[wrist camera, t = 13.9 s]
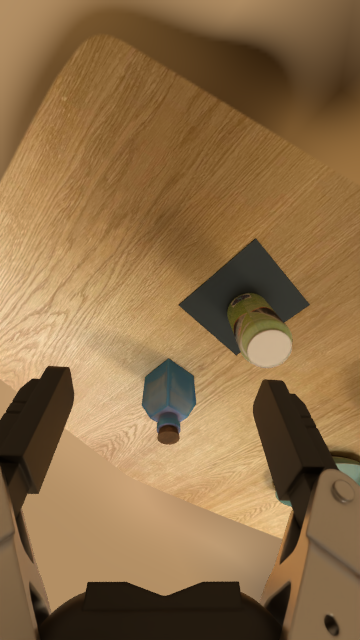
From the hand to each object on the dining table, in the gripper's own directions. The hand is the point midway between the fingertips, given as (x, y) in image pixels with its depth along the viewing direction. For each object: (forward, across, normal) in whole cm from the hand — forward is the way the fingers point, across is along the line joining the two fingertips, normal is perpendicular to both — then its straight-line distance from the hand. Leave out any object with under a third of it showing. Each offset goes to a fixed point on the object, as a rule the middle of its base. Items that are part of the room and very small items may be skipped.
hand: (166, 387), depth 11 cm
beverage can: (+26, -12, +10) cm, 30 cm away
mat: (+26, -12, +10) cm, 30 cm away
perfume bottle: (+26, -2, +26) cm, 37 cm away
